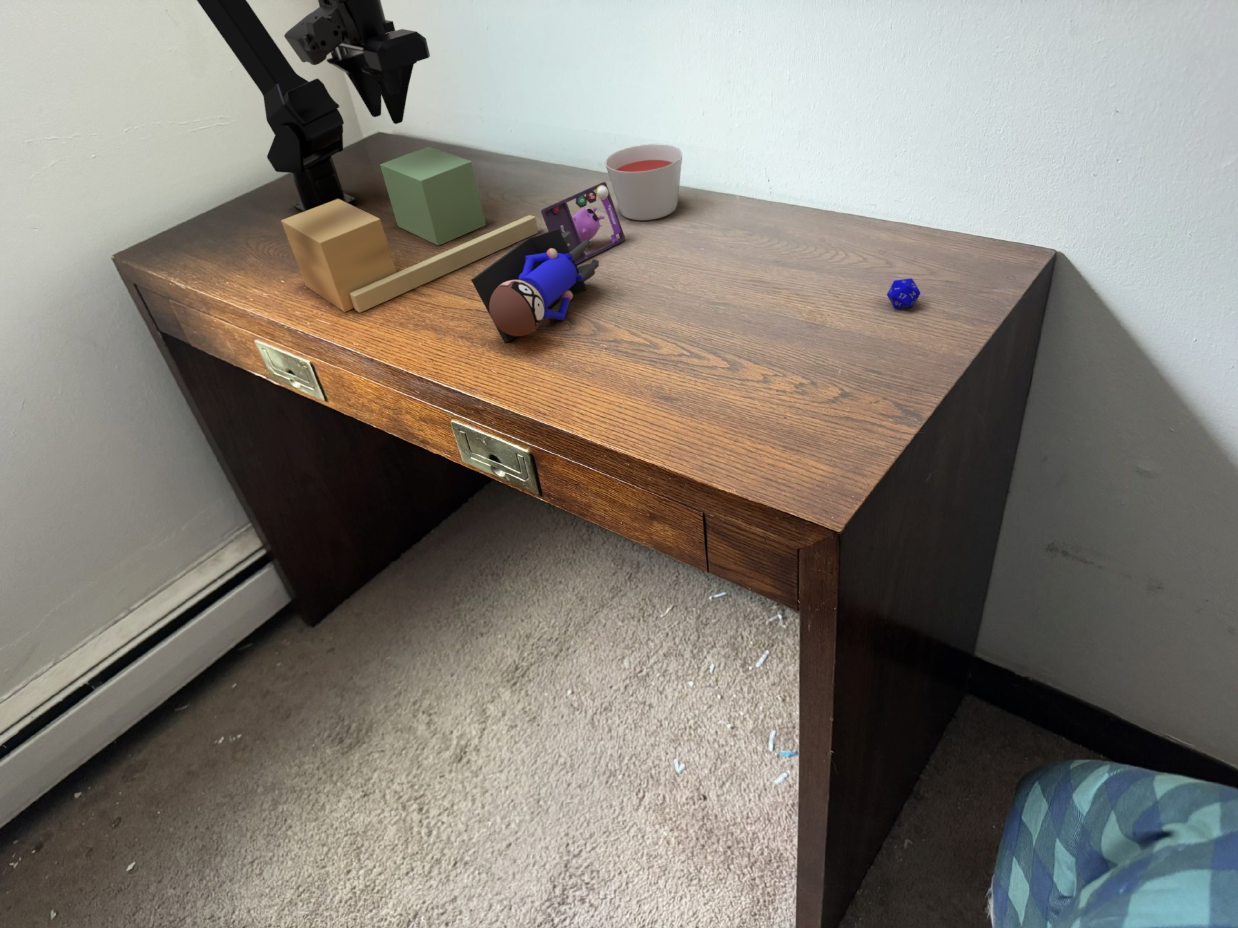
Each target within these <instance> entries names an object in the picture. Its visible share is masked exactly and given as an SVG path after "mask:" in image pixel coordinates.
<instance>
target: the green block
mask: <svg viewBox="0 0 1238 928" xmlns="http://www.w3.org/2000/svg"><path fill="white" fill-rule="evenodd" d="M379 166H380V167H379V168H380V170H381V173H382V177H383V181H384V184H385V187H386V190H387V194H388V197H389V200H390V204H391V207H392V211H393V215H394V218H395V221H396V224H397V227H398V228H400V229H402V230H404V231H407V232H409V233H411V234H413V235H415V236H417V237H419V238H421V239H424V240H426V241H427V242H429V243H431V244H434V245H436V246H437V247H439V246H441V245H443V244H446V243H448V242H451V241H453V240H455V239H457V238H460V237H462V236H465V235H467V234H470V233H472V232H474V231H477V230H479V229H481V228H483V227H485V226H487V224H486V219H485V215H484V211H483V206H482V202H481V198H480V193H479V188H478V184H477V180H476V176H475V175H476V174H475V170H474V167H473V161H471V160H469V159H466V158H464V157H461V156H457V155H455V154H451V153H448V152H446V151H443V150H440V149H436V148H434V147H432V146H426V147H424V148H421V149H418V150H415V151H411V152H410V153H407V154H404V155H402V156H399V157H396V158H393V159H391V160H388V161H385V162H383V163H380V164H379Z"/></svg>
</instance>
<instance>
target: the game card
mask: <svg viewBox="0 0 1238 928" xmlns="http://www.w3.org/2000/svg"><path fill="white" fill-rule="evenodd" d="M595 190H596V191H595ZM597 198H598V199H599V200H600V202H601V203H602V205H603V208H604V210H605V212H606V214H607V217H608V220H609V223H610V225H611V229H612V233H613V234H611V235H610V238H611V241H612V242H611V241H610V242H609V243H607V244H605V245H604V246H601V247H599V248H597V249H595V250H593V251H590V252H588V253H586V252H585V251H584V252H582V253H581V254H580V255H579V256H577V257H576V258H575V260H574V261H575V263H576V265H578V264H580V263H582V262H584V261H586V260H588V259H590V258H592V257H594V256H596V255H598V254H600V253H603V252H605V251H606V250H608V249H610V248H612V247H615V246H616V245H618V244H621V243H622V242H625V240H626V236H625V233H624V230H623V227H622V224H621V222H620V219H619V216H618V212H617V210H616V207H615V205H614V202H613V198H612V195H611V193H610V189H609V187H608V184H607V182H606V181H603V182H599V183H598V184H596V185H593V186H591V187H588V188H586V189H584V190H582V191H579V192H576V193H575V194H573V195H570V196H568V197H567V198H564V199H562V200H559V201H557V202H555V203H552V204H551V205H548V206H546V207H544V208H542V209H541V210H540V213H541V215H542V218H543V221H544V223H545V226H546V229H547V232H549V231H553V230H556V229H559V230H560V232H561V233H564V232H568V231H569V232H570V233H571V235H572V237H573V240H572V241H571V242H570V243H569V244H567V247H568V249H569V251H570V252H571V251H572V250H573V249H575V248H576V247H577V246H578V245H580V244H581V243H582V242H583V241H585V240H588V241H592V239H593V238H594V237H595V236H596V235H597V233H598V231H599V230H600V229H601V228H602V227H604V225H603V224H601V223H600V220H604V219H605V216H602V215H600V216H598V214H596V212H597V210H598V207H594V208H590V206H588V207H586V206H587V203H589V204H594V203H595V202H597ZM574 200H575V205H577V206H578V207H579V208H580V210H578V211H577V212H576V213H575V214H574V215H573V216H572V214H571V210H570V207H569V205H568V203H569V202H571V201H574ZM581 208H582V209H581ZM617 235H618V237H619V238H618V237H617Z"/></svg>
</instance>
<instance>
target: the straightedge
mask: <svg viewBox="0 0 1238 928" xmlns="http://www.w3.org/2000/svg"><path fill="white" fill-rule="evenodd" d="M538 233H539V229H538V222H537V218H536V216H534V215H531V214H529V215H525V216H524V217H522V218H519V219H517V220H515V221H513V222H510V223H508V224H506V225H503V226H501V227H498V228H496V229H494V230H492V231H489V232H487V233H485V234H483V235H480V236H477V237H475V238H473V239H471V240H469V241H466V242H464V243H462V244H459V245H458V246H455V247H452V248H450V249H448V250H446V251H444V252H440V253H439V254H436V255H434V256H432V257H429V258H427V259H425V260H423V261H421V262H418V263H416V264H413V265H411V266H409V267H406V268H405V269H402V270H400V271H396V273H395V274H393V275H390V276H388V277H386V278H384V279H381V280H379V281H377V282H374V283H372V284H370V285H368V286H365V287H363V288H361V289H358V290H356V291H354V292H351V293H350V297H351V300H352V302H353V305H354V308H353V309H354V310H355V311H357V312H358V313H359V314H361V313H363V312H365V311H368V310H369V309H372V308H374V307H376V306H378V305H381V304H383V303H385V302H387V301H390V300H391V299H394V298H396V297H398V296H401V295H403V294H405V293H407V292H410V291H412V290H415V289H416V288H418V287H421V286H422V285H425V284H428V283H430V282H431V281H435V280H437V279H439V278H441V277H444V276H445V275H447V274H450V273H451V272H454V271H456V270H459V269H461V268H463V267H465V266H468V265H469V264H472V263H474V262H477V261H478V260H480V259H483V258H485V257H487V256H490V255H492V254H494V253H496V252H498V251H500V250H504V249H505V248H508V247H510V246H512V245H514V244H517V243H518V242H521V241H524V240H526V239H527V238H530V237H533V236H535V235H536V234H538Z"/></svg>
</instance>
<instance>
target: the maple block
mask: <svg viewBox="0 0 1238 928" xmlns="http://www.w3.org/2000/svg"><path fill="white" fill-rule="evenodd" d="M280 222H281V225H282V227H283V230H284V232H285V235H286V238H287V240H288V243H289V246H290V249H291V251H292V253H293V256H294V259H295V261H296V264H297V267H298V270H299V271H300V275H301V277H302V279H303V282H304V285H305V287H306V288H308V289H309V290H311V291H312V292H313V293H315V294H316V295H318V296H320V297H321V298H322V299H324V300H325V301H327V302H329V303H330V304H332V305H333V306H335V307H336V308H338V309H339V310H341V311H342V312H344V313H347V312H348V311H350V310H353V309H355V308H354V305H353V302H352V300H351V297H350V293H351V292H354V291H356V290H358V289H361V288H363V287H365V286H368V285H370V284H372V283H374V282H377V281H379V280H381V279H384V278H386V277H388V276H390V275H393V274H395V273H397V270H396V266H395V263H394V260H393V256H392V253H391V250H390V247H389V243H388V240H387V236H386V234H385V230H384V227H383V223H382V220H381V219H380V218H379V217H377V216H375V215H374V214H371V213H369V212H367V211H364V210H363V209H361V208H359V207H357V206H354V205H352V204H348V203H346V202H344V201H342V200H340V199H336V200H334V201H331V202H328V203H326V204H323V205H320V206H318V207H315V208H313V209H310V210H307V211H305V212H299V213H297V214H294V215H291V216H289V217H286V218H283V219H281V220H280Z"/></svg>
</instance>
